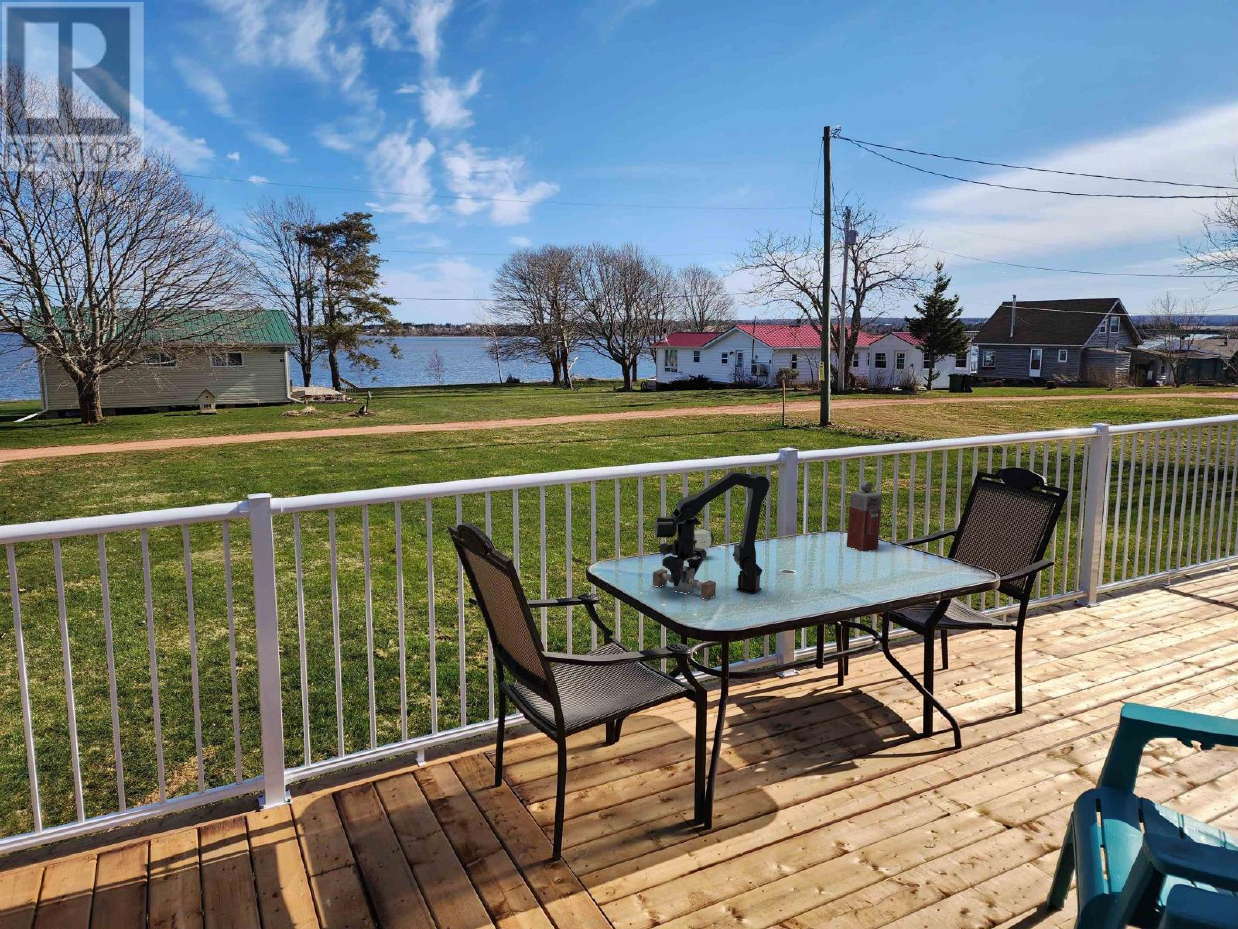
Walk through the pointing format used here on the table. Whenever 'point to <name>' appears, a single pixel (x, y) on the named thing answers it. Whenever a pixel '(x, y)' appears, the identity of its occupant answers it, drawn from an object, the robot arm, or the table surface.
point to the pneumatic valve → (703, 538)
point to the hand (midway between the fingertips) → (683, 582)
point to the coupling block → (685, 580)
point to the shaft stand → (706, 588)
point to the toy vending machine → (864, 518)
